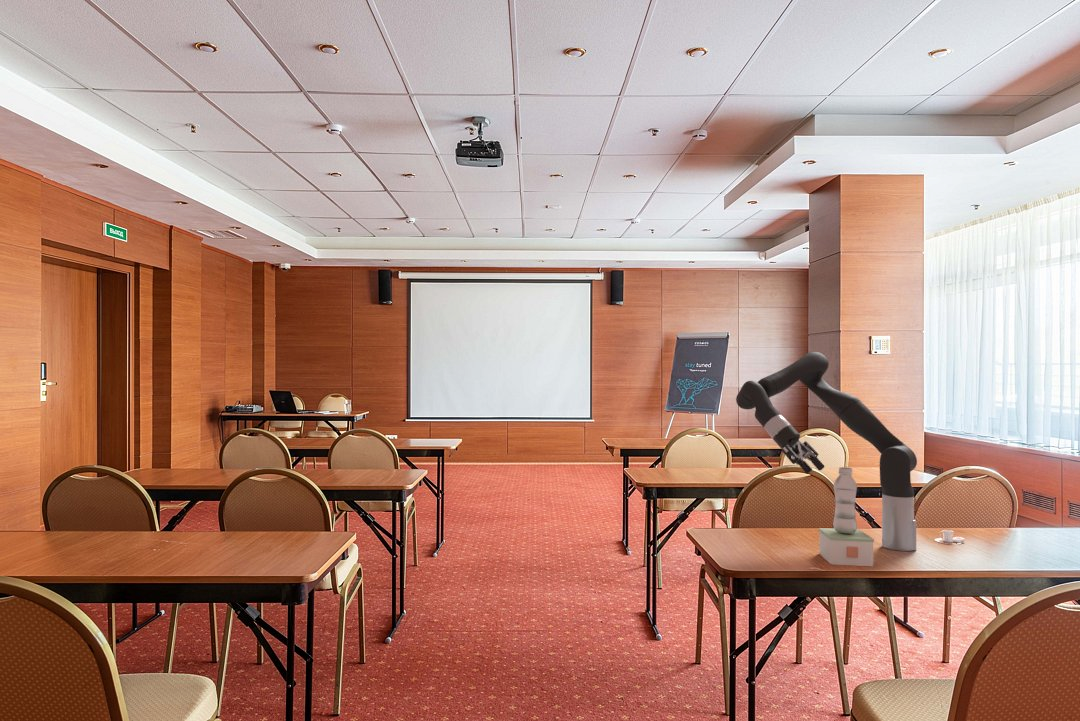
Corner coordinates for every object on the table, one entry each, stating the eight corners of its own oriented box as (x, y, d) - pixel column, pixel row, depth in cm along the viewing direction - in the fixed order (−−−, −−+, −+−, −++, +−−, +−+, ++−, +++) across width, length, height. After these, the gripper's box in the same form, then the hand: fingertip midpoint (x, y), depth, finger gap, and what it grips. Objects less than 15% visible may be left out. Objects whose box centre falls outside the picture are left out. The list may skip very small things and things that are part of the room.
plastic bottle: (857, 537, 201) (858, 470, 201) (832, 534, 204) (833, 468, 204) (857, 532, 207) (857, 467, 207) (833, 529, 210) (833, 465, 210)
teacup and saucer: (964, 542, 230) (964, 530, 230) (964, 547, 223) (964, 535, 223) (935, 538, 234) (935, 527, 234) (933, 543, 228) (933, 531, 228)
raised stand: (859, 555, 210) (859, 529, 210) (874, 566, 198) (874, 539, 198) (818, 553, 212) (819, 528, 212) (831, 564, 199) (831, 537, 199)
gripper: (784, 437, 227) (818, 475, 219) (763, 440, 217) (797, 480, 209) (799, 422, 223) (834, 460, 215) (778, 425, 214) (813, 465, 205)
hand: (816, 470), depth 212 cm, fingers open, 8 cm apart
